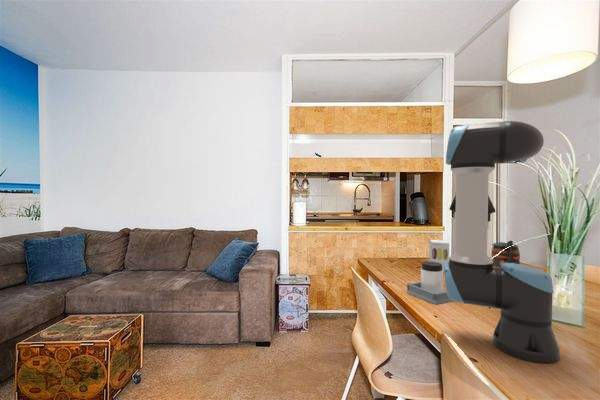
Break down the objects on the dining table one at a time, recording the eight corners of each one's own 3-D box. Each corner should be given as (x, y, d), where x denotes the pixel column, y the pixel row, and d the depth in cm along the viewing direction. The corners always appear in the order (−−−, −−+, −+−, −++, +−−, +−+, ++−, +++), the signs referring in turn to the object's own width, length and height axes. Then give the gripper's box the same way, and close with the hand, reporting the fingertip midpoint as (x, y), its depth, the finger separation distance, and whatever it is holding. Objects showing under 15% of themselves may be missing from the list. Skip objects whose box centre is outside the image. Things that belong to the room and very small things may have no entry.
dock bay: (459, 299, 126) (459, 289, 126) (435, 304, 120) (435, 294, 120) (430, 288, 140) (430, 280, 140) (407, 293, 134) (407, 284, 134)
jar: (431, 295, 127) (432, 266, 126) (416, 289, 134) (416, 262, 134) (446, 292, 131) (447, 264, 130) (431, 286, 138) (431, 260, 138)
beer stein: (530, 282, 151) (531, 242, 151) (497, 279, 155) (498, 240, 155) (515, 272, 169) (516, 236, 169) (485, 270, 173) (486, 235, 173)
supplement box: (430, 271, 170) (430, 241, 169) (428, 267, 179) (428, 239, 178) (449, 273, 167) (449, 242, 167) (446, 269, 176) (446, 240, 175)
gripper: (505, 178, 125) (504, 230, 126) (452, 180, 148) (452, 224, 148) (494, 178, 122) (493, 231, 123) (441, 180, 145) (441, 225, 145)
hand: (470, 227), depth 136 cm, fingers open, 13 cm apart
